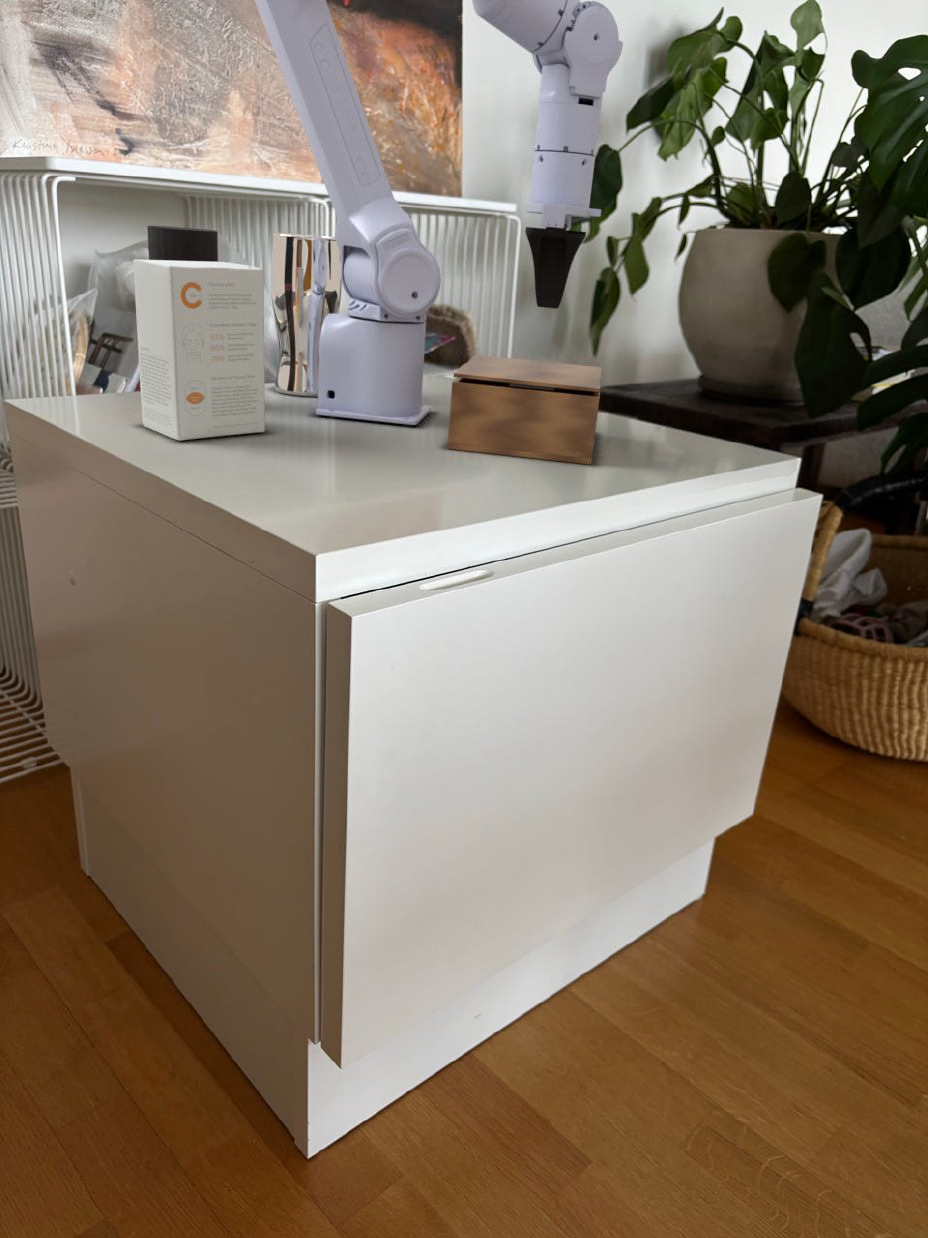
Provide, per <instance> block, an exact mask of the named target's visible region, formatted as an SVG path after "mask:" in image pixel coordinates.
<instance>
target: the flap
mask: <svg viewBox="0 0 928 1238" xmlns="http://www.w3.org/2000/svg"><path fill="white" fill-rule="evenodd" d="M466 364H476V365H486V366H495V367H505V368H515V369H525V370H534V371H544V372H554V373H564V374H573V375H583V376H593V377H601V378H602V372H603V367H602V366H592V365H582V364H574V363H573V364H571V363H564V362H563V363H562V362H552V361H543V360H542V361H541V360H533V359H524V358H523V359H522V358H513V357H502V356H495V355H494V356H493V355H483V354H473V355H472V357H471V358H469V360H467V362H466Z"/></svg>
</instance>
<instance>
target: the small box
mask: <svg viewBox="0 0 928 1238" xmlns="http://www.w3.org/2000/svg"><path fill="white" fill-rule="evenodd" d="M132 261H133V279H134V280H133V281H134V300H135V313H136V314H135V316H136V333H137V350H138V351H137V352H138V369H139V386H140V387H139V388H140V402H141V403H140V405H141V420H142V425H143V427H144V428H147V429H150V430H151V431H154V432H156V433H159V434H161V435H162V436H163V435H164V436H166V437H168V438H170V439H173V440H175V441H179V442H180V441H181V442H182V441H187V440H189V441H190V440H197V439H207V438H215V437H225V436H234V435H243V434H253V433H254V434H255V433H264V432H265V430H266V429H265V428H266V427H265V424H266V423H265V422H266V421H265V419H266V417H265V415H266V414H265V413H266V410H265V409H266V407H265V403H266V402H265V401H266V399H265V398H266V397H265V396H266V395H265V388H266V387H265V385H266V384H265V373H266V372H265V269H263V268H261V267H257V266H252V265H247V264H242V263H236V262H235V263H234V262H227V261H218V262H205V261H169V260H149V259H137V258H135V259H133V260H132Z"/></svg>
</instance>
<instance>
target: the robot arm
mask: <svg viewBox="0 0 928 1238" xmlns="http://www.w3.org/2000/svg"><path fill="white" fill-rule="evenodd" d="M253 1H254V3H255V6H256V9H257V11H258V14H259V16H260V19H261V22H262V24H263V27H264V29H265V32H266V35H267V37H268V39H269V43H270V46H271V48H272V50H273V54H274V56H275V58H276V61H277V63H278V66H279V69H280V71H281V74H282V77H283V80H284V82H285V84H286V87H287V90H288V92H289V96H290V98H291V100H292V103H293V106H294V108H295V110H296V114H297V116H298V118H299V121H300V123H301V127H302V129H303V132H304V135H305V137H306V140H307V143H308V145H309V148H310V150H311V152H312V156H313V158H314V160H315V163H316V166H317V168H318V171H319V173H320V177H321V179H322V181H323V184H324V186H325V189H326V192H327V194H328V197H329V200H330V203H331V205H332V208H333V210H334V212H335V216H336V221H335V230H334V237H335V239H336V242H337V244H338V247H339V251H340V257H341V263H340V277H341V282H342V287H343V290H344V291H345V293H346V295H348V297H349V298H350V301H349V304H348V305H347V314H345V313H344V314H343V313H339V314H328V315H327V316H326V317H325V319H324V321H323V324H322V328H321V333H320V341H319V372H318V396H317V408H316V409H315V414H316V415H317V416H325V417H326V416H327V417H334V418H335V417H336V418H344V419H345V418H346V419H353V420H354V419H355V420H361V421H362V420H363V421H370V422H371V421H372V422H380V423H382V422H383V423H390V424H398V425H400V424H401V425H408V426H417V425H418V424H419V423H420V422H421V421H422V420H423V419H424V418H425V417H426V416H427V415H428V414H429V413H430V412H431V406H429V405H423V404H422V398H423V397H422V396H423V383H424V382H423V381H424V364H425V348H426V333H427V321H426V320H427V318H428V317H427V316H428V315H427V311H428V310H430V309H431V307H432V306H433V305H434V304H435V302H436V301H437V298H438V296H439V294H440V289H441V286H442V285H441V284H442V275H441V268H440V265H439V262H438V261H437V259H436V257H435V256H434V254H433V252H432V251H430V250H429V249H428V248H427V247H426V246H425V244H423V242H422V241H421V239H420V237H419V236H418V235H419V234H418V232H417V230H416V228H415V227H416V226H415V224H414V222H413V220H412V219H411V218H410V216H409V215H408V214H407V213H406V211H405V210H404V209H403V208H402V206H401V205H400V204H399V202H398V201H397V200H396V198H395V197H394V194H393V191H392V188H391V186H390V183H389V180H388V177H387V174H386V171H385V168H384V166H383V161H382V159H381V156H380V153H379V151H378V148H377V145H376V141H375V139H374V136H373V134H372V131H371V128H370V125H369V121H368V119H367V116H366V113H365V110H364V108H363V104H362V101H361V99H360V95H359V93H358V89H357V87H356V84H355V81H354V78H353V76H352V72H351V69H350V67H349V65H348V61H347V59H346V58H347V57H346V56H345V52H344V50H343V47H342V44H341V41H340V38H339V35H338V33H337V29H336V27H335V24H334V21H333V18H332V15H331V13H330V10H329V6H328V4H327V1H326V0H253ZM471 1H472V6H473V10H474V12H475V15H477V16H478V17H480V18H481V19H482V20H484V21H485V22H486V23H488V24H489V25H490V26H492V27H494V28H495V29H496V30H498V31H499V32H501V34H503V35H505V36H506V37H508V38H509V39H510V40H512V41H513V42H514V43H516V44H517V45H518V46H520V47H521V48H523V49H524V50H526V51H527V52H528V53H529V54H531V56H532V61H533V64H534V66H535V68H536V70H537V71H538V72H539V75H541V77H540V88H539V97H538V108H537V116H536V117H537V119H536V128H535V138H534V149H533V157H532V158H533V159H532V168H531V177H530V179H531V180H530V188H529V198H528V199H529V200H528V202H526V207H525V212H526V213H528V214H537V215H541V224H540V227H531V226H526V227H525V231H524V232H525V236H526V238H527V239H526V240H527V242H528V245H529V249H530V253H531V256H532V262H533V274H534V292H535V301H536V307H537V308H545V309H556V310H558V309H559V308H560V306H561V302H562V300H563V297H564V293H565V290H566V286H567V281H568V278H569V274H570V271H571V268H572V264H573V262H574V260H575V257H576V254H577V252H578V251H579V248H580V246H581V245H582V244H583V241H584V240H585V238H586V236H587V232H586V231H580V230H579V231H578V230H567V229H571V224H572V218H587V219H589V218H591V217H593V218H594V217H595V218H600V217H602V209H600V208H590V205H591V204H590V203H591V194H592V186H593V179H594V171H595V170H594V169H595V164H596V163H595V162H596V155H597V147H598V137H599V130H600V121H601V115H602V114H601V112H602V106H603V105H602V103H603V96H604V93H605V92H606V90H607V82H608V77H609V75H610V73H611V71H612V70H613V69H614V67H615V66H616V65H617V63H618V61H619V59H620V58H621V55H622V52H623V47H624V42H623V41H621V40H619V39H620V38H619V28H618V24H617V22H616V20H615V18H614V15H613V14H612V11H610V10H609V8H608V7H607V6H606V5H604V4H603V3H601V2H599V1H596V0H590V1H589V0H586V1H581V0H471Z"/></svg>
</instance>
